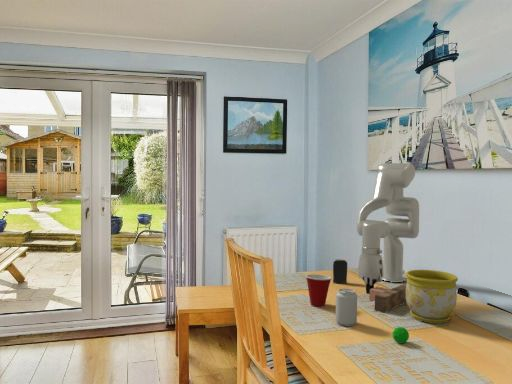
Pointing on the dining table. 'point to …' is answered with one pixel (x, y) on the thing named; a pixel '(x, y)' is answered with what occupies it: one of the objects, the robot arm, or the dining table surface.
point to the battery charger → (339, 271)
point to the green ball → (400, 335)
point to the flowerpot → (431, 295)
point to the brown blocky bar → (390, 298)
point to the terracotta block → (376, 292)
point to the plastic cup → (318, 288)
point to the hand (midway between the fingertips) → (369, 293)
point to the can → (346, 307)
